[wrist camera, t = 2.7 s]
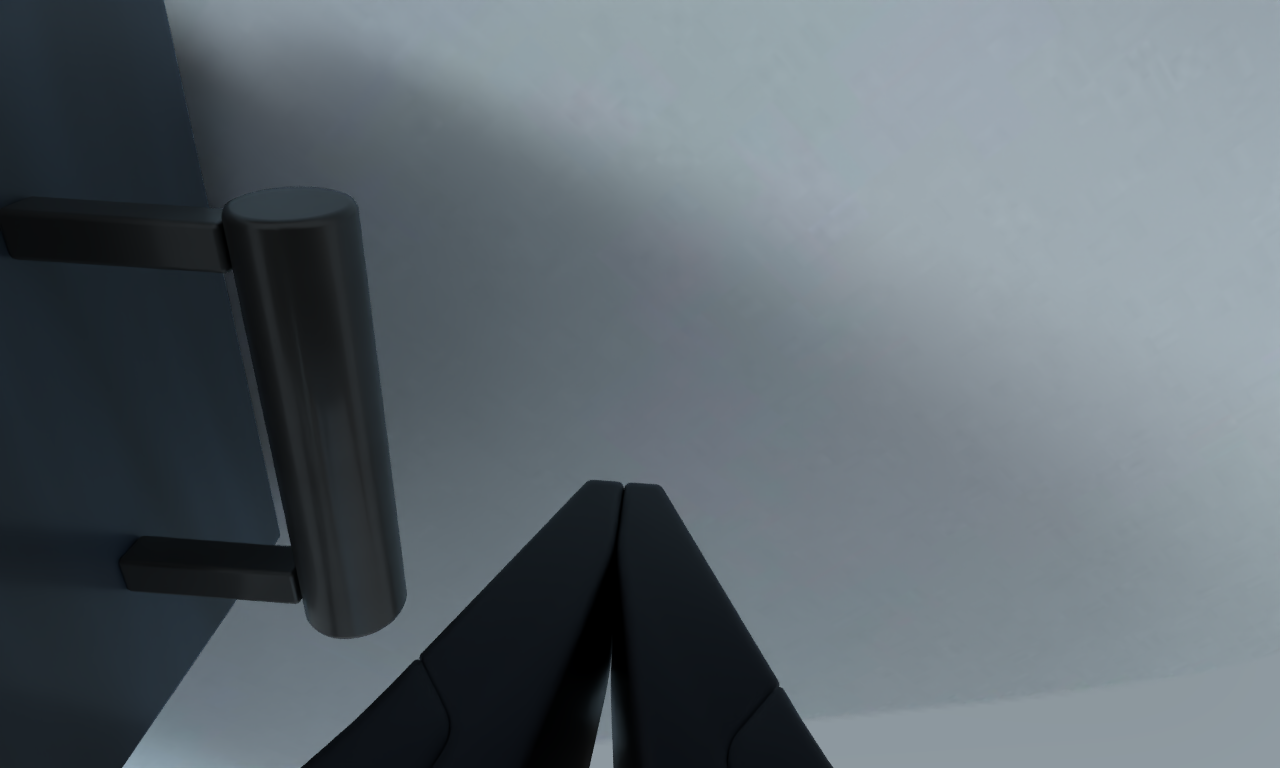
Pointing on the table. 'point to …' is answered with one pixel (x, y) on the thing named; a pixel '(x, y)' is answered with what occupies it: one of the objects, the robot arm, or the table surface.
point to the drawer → (163, 392)
